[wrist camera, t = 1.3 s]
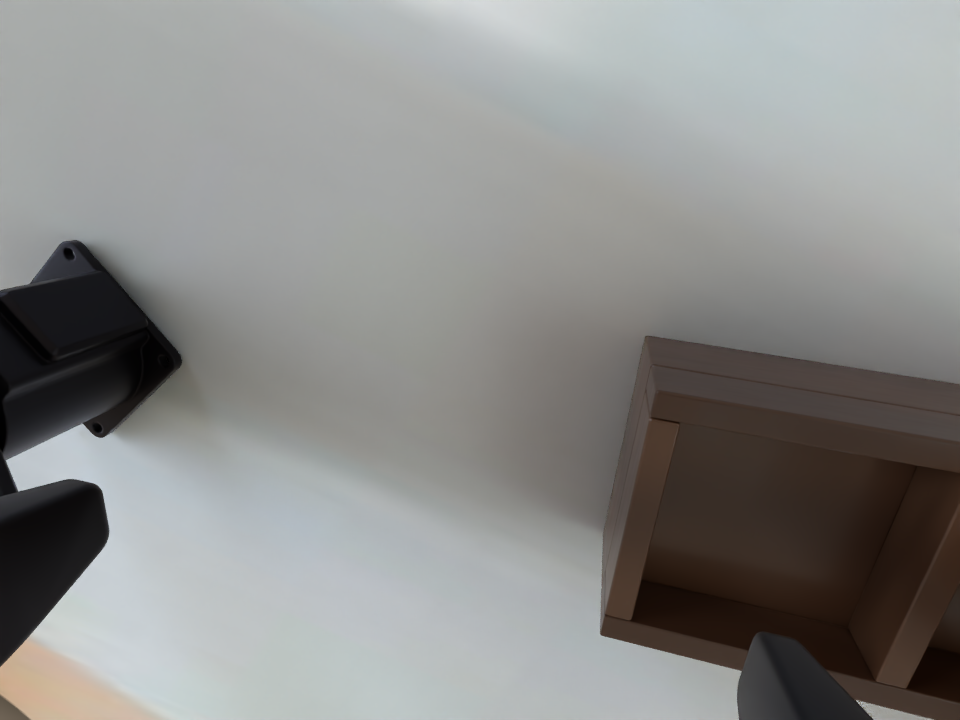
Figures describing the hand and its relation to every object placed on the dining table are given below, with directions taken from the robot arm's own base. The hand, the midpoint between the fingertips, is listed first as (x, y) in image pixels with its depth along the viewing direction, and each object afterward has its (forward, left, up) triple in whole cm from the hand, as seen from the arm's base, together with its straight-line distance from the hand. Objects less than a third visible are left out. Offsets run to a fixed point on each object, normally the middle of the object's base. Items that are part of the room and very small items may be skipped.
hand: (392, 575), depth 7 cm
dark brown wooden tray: (+6, -11, -13) cm, 18 cm away
